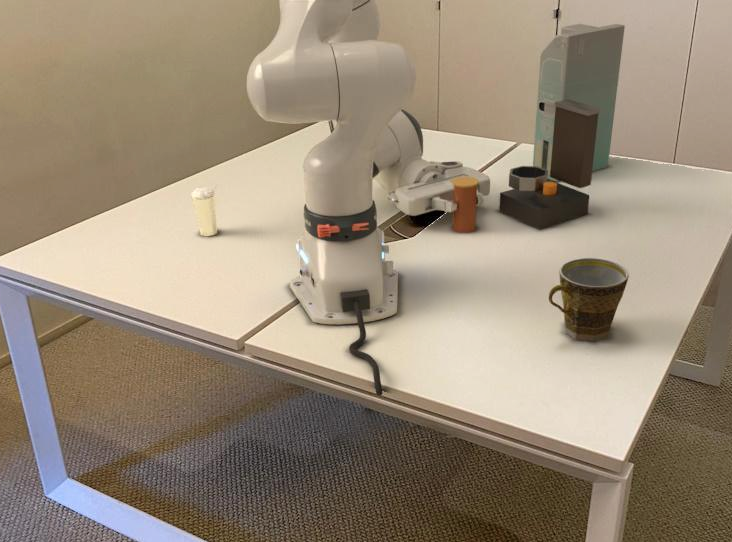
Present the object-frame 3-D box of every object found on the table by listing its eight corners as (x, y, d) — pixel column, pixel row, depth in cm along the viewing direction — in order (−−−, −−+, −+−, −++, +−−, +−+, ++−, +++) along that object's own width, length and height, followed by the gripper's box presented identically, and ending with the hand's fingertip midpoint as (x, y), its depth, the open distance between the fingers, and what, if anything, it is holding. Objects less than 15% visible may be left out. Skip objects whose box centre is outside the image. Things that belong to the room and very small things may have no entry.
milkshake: (219, 238, 164) (212, 189, 159) (193, 237, 165) (185, 187, 160) (227, 229, 168) (220, 180, 162) (202, 228, 169) (194, 179, 163)
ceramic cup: (591, 310, 135) (598, 252, 130) (634, 336, 128) (643, 276, 122) (525, 330, 130) (529, 271, 125) (566, 359, 123) (572, 298, 117)
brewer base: (499, 211, 172) (500, 182, 168) (546, 197, 177) (548, 169, 174) (541, 230, 163) (543, 200, 159) (589, 215, 168) (593, 186, 165)
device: (583, 158, 198) (598, 20, 181) (608, 166, 192) (625, 25, 176) (531, 172, 190) (541, 30, 174) (555, 181, 185) (568, 36, 168)
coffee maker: (501, 183, 168) (505, 107, 160) (550, 169, 174) (556, 96, 166) (542, 200, 160) (548, 121, 151) (591, 185, 166) (600, 108, 157)
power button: (539, 193, 164) (540, 183, 162) (549, 190, 165) (550, 180, 164) (549, 197, 162) (549, 187, 161) (559, 194, 163) (559, 184, 162)
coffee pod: (479, 231, 163) (481, 184, 158) (454, 234, 162) (455, 186, 157) (473, 222, 167) (474, 175, 162) (448, 224, 167) (449, 177, 161)
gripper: (382, 180, 165) (423, 200, 155) (464, 159, 174) (508, 177, 164) (383, 211, 168) (423, 232, 158) (463, 188, 177) (506, 207, 168)
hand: (467, 204), depth 161 cm, fingers open, 5 cm apart
